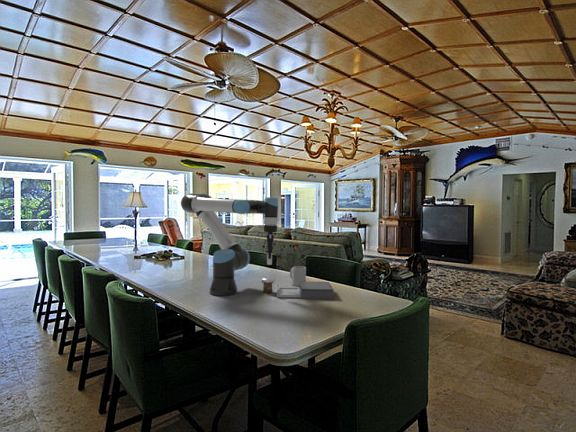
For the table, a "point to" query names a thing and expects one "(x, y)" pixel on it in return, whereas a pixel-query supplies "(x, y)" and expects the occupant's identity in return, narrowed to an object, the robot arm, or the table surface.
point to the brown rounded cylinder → (267, 287)
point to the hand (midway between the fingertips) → (269, 262)
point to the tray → (288, 291)
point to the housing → (316, 290)
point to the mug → (298, 275)
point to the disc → (267, 279)
